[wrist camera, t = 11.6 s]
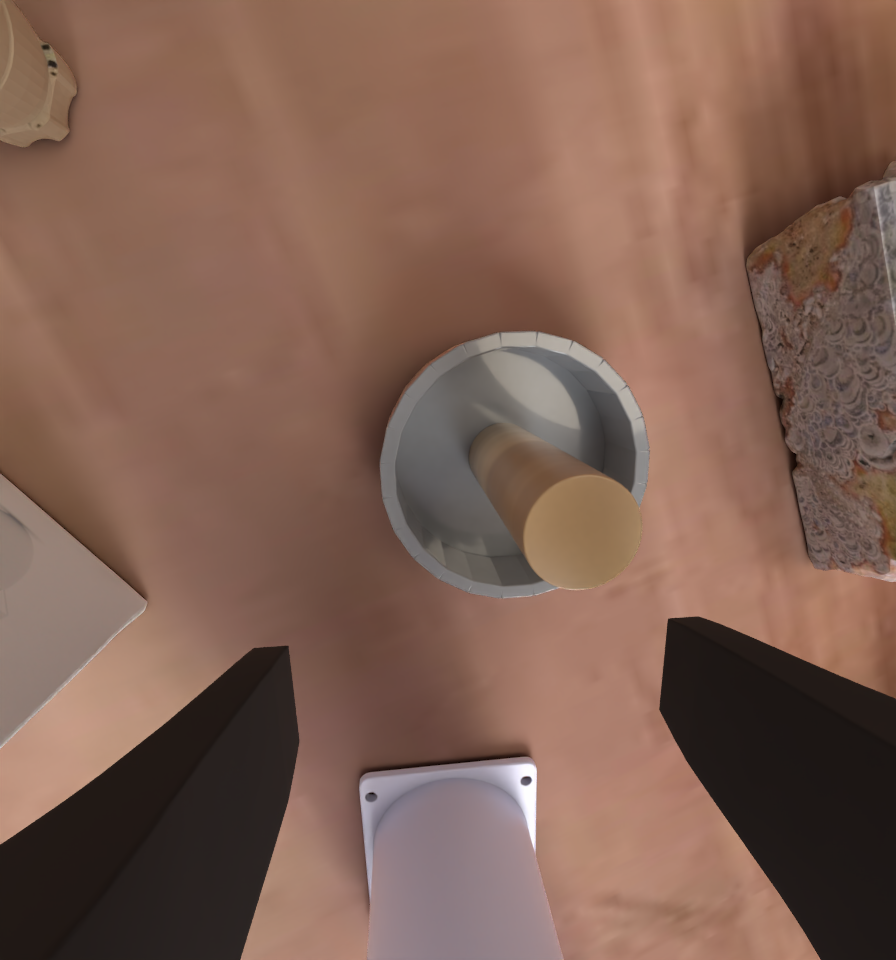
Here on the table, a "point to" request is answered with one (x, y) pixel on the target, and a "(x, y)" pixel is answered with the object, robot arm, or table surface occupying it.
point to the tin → (477, 405)
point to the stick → (557, 507)
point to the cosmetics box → (49, 608)
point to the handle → (31, 83)
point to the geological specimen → (837, 370)
